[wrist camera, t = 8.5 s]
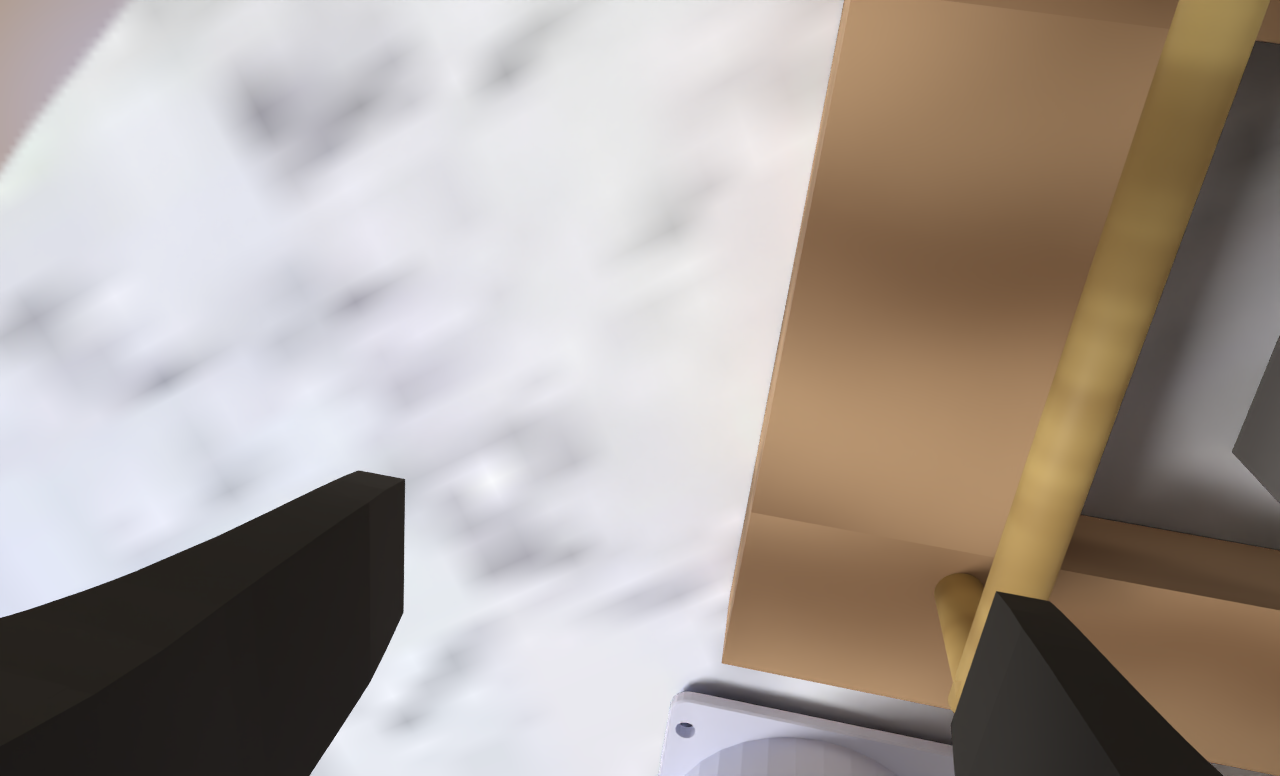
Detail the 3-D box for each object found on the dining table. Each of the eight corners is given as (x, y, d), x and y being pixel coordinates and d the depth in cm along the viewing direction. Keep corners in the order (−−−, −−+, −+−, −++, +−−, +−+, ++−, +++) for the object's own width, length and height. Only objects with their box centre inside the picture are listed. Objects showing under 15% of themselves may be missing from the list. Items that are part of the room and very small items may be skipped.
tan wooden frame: (1366, 720, 21) (1549, 958, 16) (729, 596, 23) (707, 777, 18) (1804, -28, 15) (2353, -37, 10) (869, -133, 16) (901, -191, 11)
